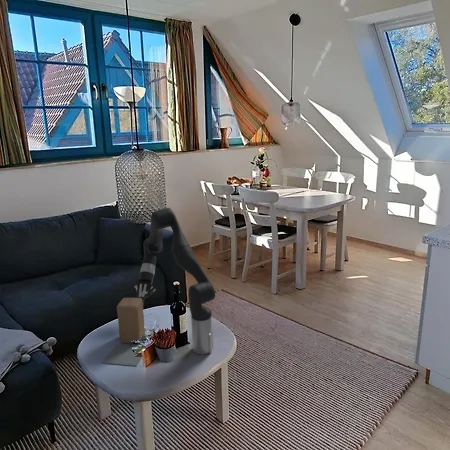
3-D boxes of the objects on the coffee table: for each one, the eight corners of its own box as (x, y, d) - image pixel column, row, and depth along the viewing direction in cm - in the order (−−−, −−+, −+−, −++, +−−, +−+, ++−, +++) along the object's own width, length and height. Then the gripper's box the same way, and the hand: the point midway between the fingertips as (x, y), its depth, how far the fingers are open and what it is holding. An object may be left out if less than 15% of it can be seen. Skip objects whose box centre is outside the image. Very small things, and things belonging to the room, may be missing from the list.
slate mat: (147, 348, 188) (147, 347, 188) (136, 366, 175) (136, 365, 175) (115, 345, 191) (115, 344, 190) (102, 363, 177) (102, 362, 177)
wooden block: (145, 333, 201) (142, 297, 195) (139, 344, 191) (136, 307, 185) (126, 332, 202) (123, 296, 196) (119, 343, 192) (115, 306, 186)
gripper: (133, 270, 211) (125, 301, 203) (157, 271, 209) (150, 303, 200) (137, 275, 217) (130, 306, 209) (160, 276, 215) (154, 307, 207)
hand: (140, 304), depth 205 cm, fingers closed
